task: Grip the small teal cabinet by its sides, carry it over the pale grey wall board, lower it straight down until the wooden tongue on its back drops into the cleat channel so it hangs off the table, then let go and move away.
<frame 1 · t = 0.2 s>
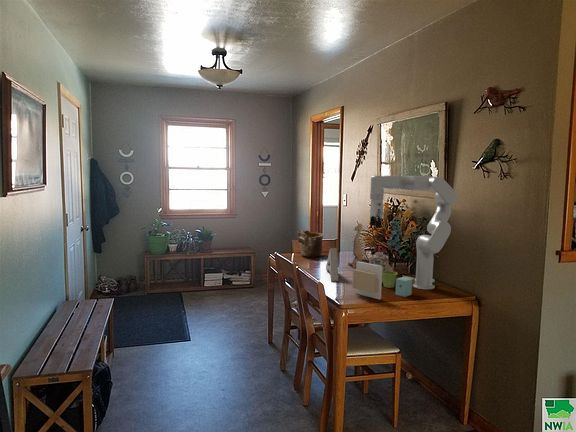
hand: (375, 226, 255), 37 cm above the table, tool pointing down, fingers open, 9 cm apart
wall board: (367, 296, 242), on the table
bird sculpture: (357, 267, 319), on the table
decorative jar: (378, 280, 278), on the table
teal cabinet: (403, 294, 247), on the table
plant pot: (388, 287, 263), on the table
ceramic vessel: (311, 256, 355), on the table
wall bracket: (331, 275, 290), on the table
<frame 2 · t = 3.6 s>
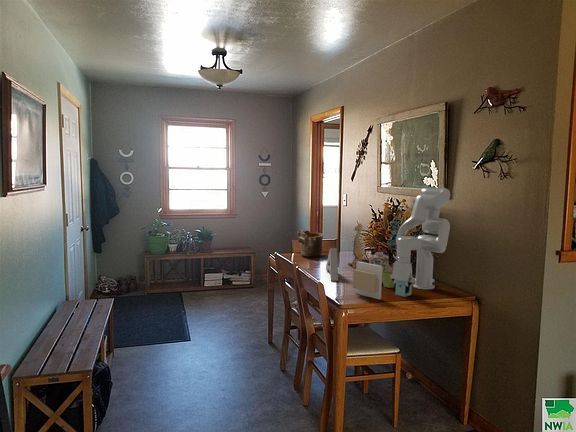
hand: (401, 291, 245), 2 cm above the table, tool pointing down, fingers closed on teal cabinet, 6 cm apart
teal cabinet: (403, 294, 247), on the table, touching gripper
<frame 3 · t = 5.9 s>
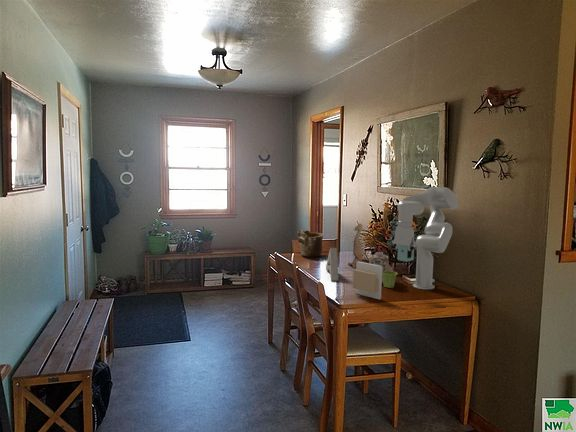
hand: (403, 256, 244), 22 cm above the table, tool pointing down, fingers closed on teal cabinet, 6 cm apart
teal cabinet: (405, 259, 245), point 20 cm above the table, touching gripper
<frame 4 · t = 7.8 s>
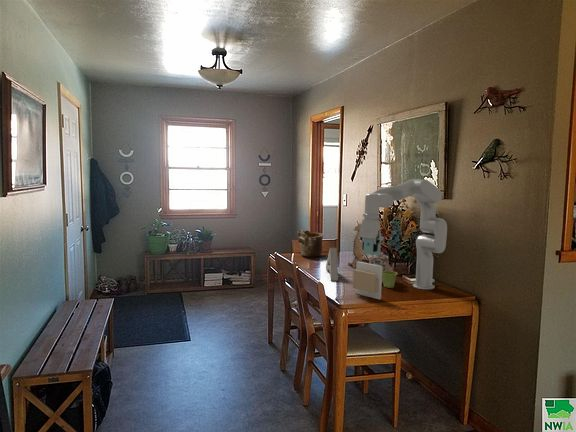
hand: (369, 250, 235), 26 cm above the table, tool pointing down, fingers closed on teal cabinet, 6 cm apart
teal cabinet: (371, 253, 236), point 24 cm above the table, touching gripper
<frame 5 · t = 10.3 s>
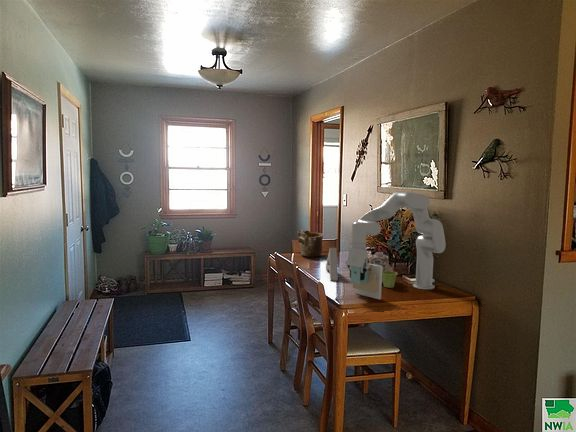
hand: (357, 278, 233), 11 cm above the table, tool pointing down, fingers closed on teal cabinet, 6 cm apart
teal cabinet: (359, 281, 235), point 9 cm above the table, touching gripper
when the fingers open (8 cm above the table, at t = 12.2 s): teal cabinet stays where it is, resting on wall board.
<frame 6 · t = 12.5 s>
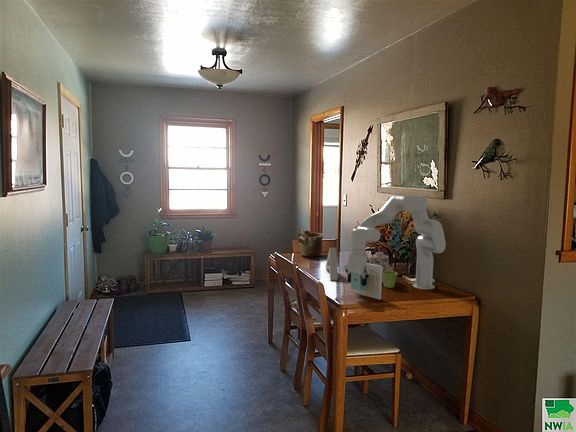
hand: (356, 283, 234), 9 cm above the table, tool pointing down, fingers open, 9 cm apart
teal cabinet: (359, 288, 236), point 6 cm above the table, touching wall board
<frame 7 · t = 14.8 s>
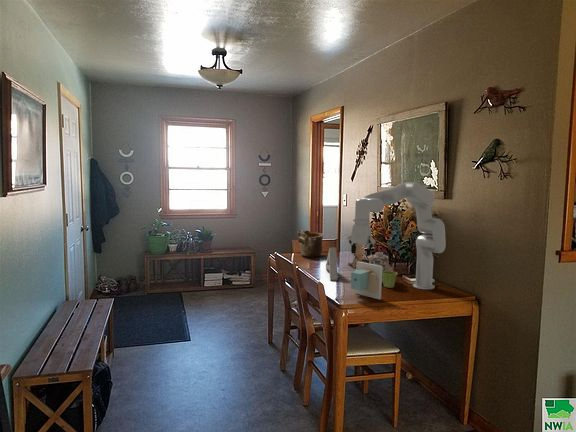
hand: (360, 254, 232), 24 cm above the table, tool pointing down, fingers open, 9 cm apart
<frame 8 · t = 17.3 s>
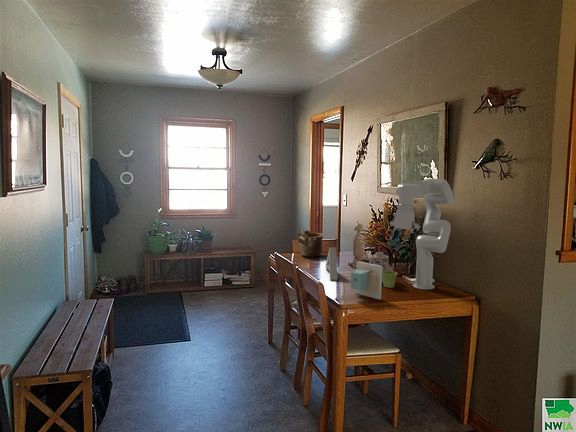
hand: (403, 239, 236), 32 cm above the table, tool pointing down, fingers open, 9 cm apart
at the end: teal cabinet inside the target area on the wall board (0.4 cm from its centre), point 5.8 cm above the wall board's base; teal cabinet touching wall board; teal cabinet tilted 3° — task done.
